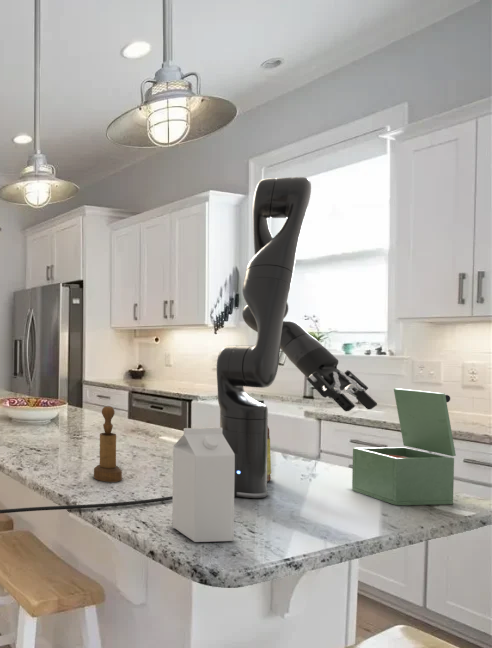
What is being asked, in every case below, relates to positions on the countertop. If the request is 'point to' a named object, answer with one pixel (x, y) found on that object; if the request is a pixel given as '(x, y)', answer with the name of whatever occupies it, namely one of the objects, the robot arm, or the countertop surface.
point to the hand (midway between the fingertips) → (362, 408)
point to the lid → (425, 420)
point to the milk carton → (203, 485)
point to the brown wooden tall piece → (108, 451)
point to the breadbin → (403, 475)
